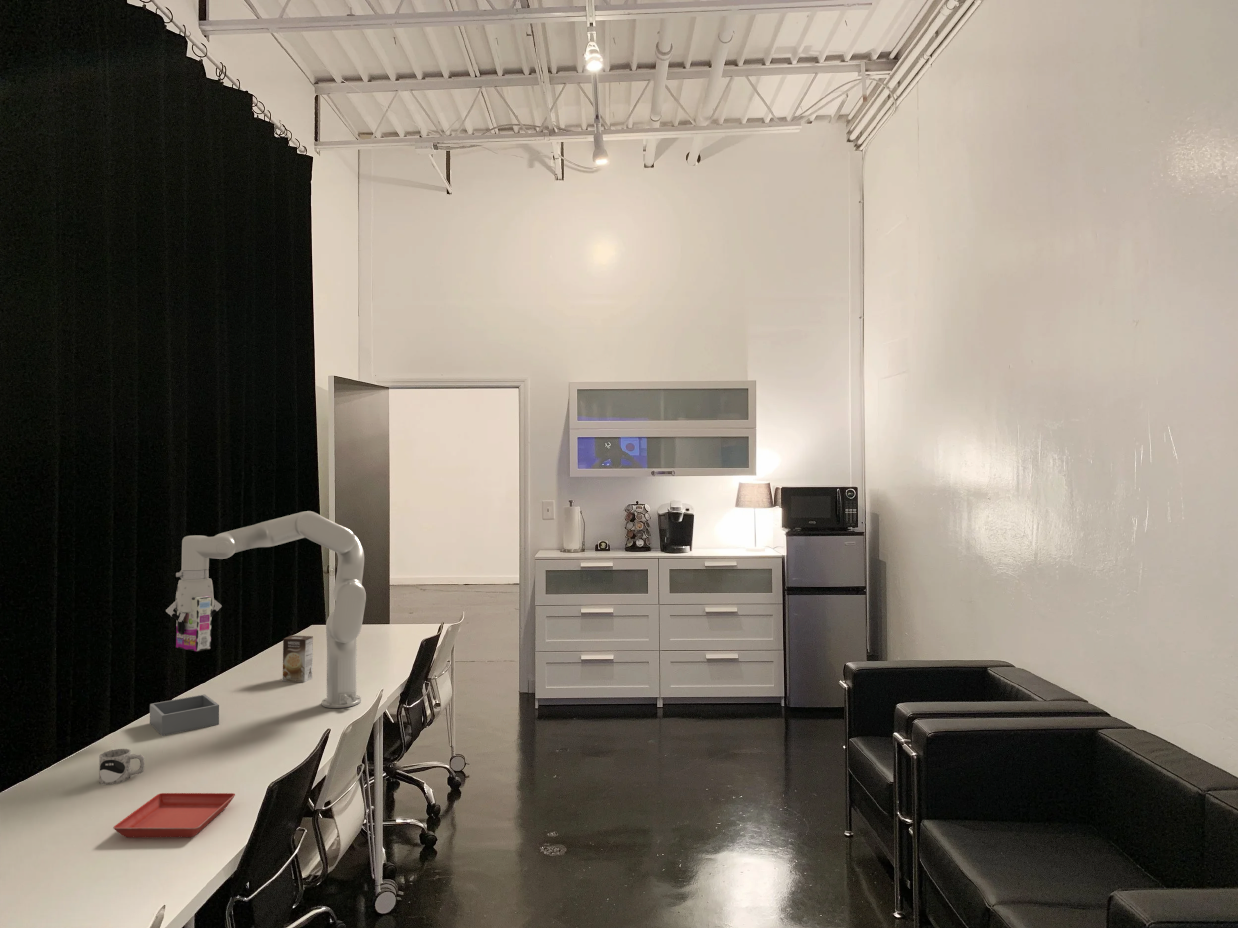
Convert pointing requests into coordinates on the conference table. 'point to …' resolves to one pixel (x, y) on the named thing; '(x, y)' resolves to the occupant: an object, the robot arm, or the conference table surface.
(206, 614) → the candy bar box
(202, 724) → the bin
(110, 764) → the mug
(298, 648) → the coffee box
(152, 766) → the conference table surface
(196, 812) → the plant saucer
